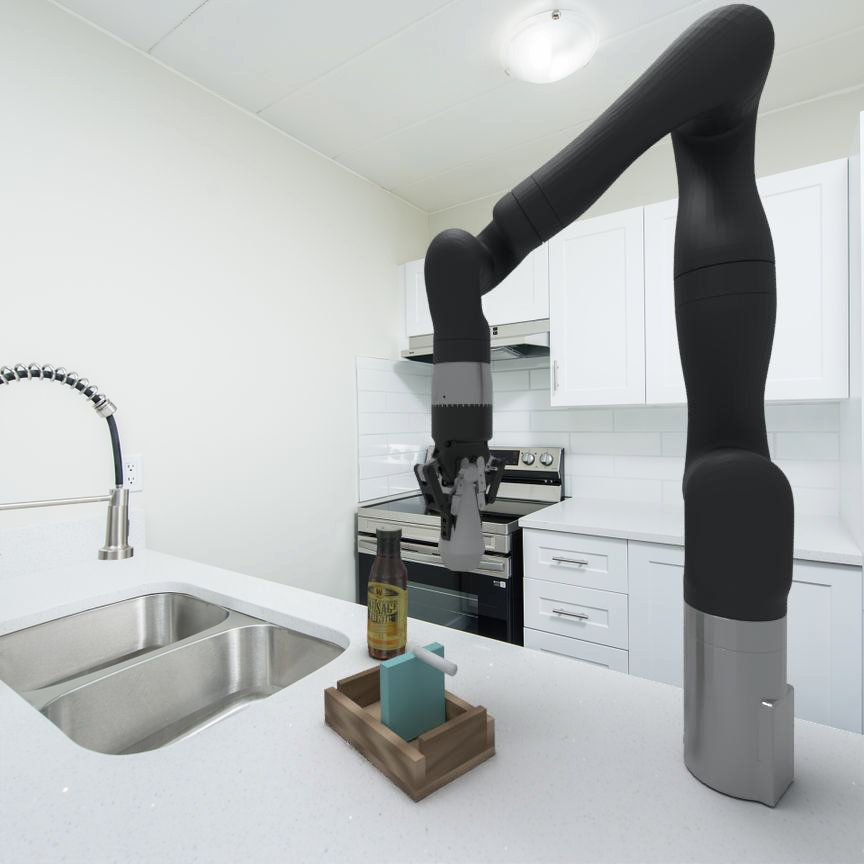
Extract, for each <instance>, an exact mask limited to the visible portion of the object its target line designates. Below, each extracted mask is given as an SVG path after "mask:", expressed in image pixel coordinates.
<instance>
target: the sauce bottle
mask: <svg viewBox="0 0 864 864" xmlns="http://www.w3.org/2000/svg"><path fill="white" fill-rule="evenodd" d="M402 536H403V529H402V527H401V526H398V525H390V524H388V525H386V524H385V525H380V526H377V527H376V528H375V538H376V552H375V553H376V555H375V558H374V562H373V563H372V566H371V568H370V572H369V578H368V583H367V622H366V623H367V624H366V625H367V626H366V627H367V629H366V630H367V631H366V643H367V651H368V654H369V655H370V656H371V657H373V658H375V659H379V660H383V659H385V660H389V659H392V658H394V657H397V656H400V655H402V654H405V653H406V645H407V643H408V596H409V595H408V591H409V590H408V589H409V588H408V569H407V567H406V565H405V563H404V562H403V560H402V559H403V558H402V556H401V554H402V552H401V539H402Z"/></svg>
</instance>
